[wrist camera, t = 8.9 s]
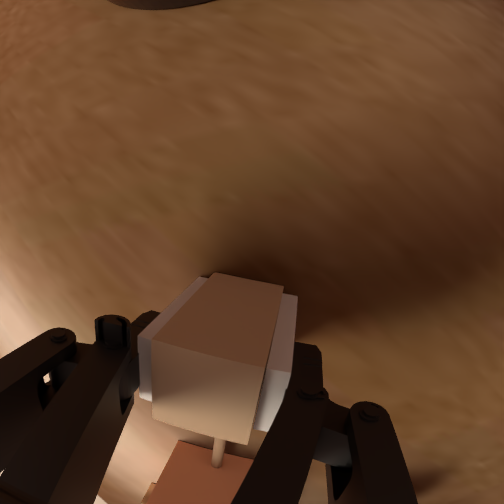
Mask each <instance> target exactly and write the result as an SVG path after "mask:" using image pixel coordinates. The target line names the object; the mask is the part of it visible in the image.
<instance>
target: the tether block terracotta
mask: <svg viewBox="0 0 504 504" xmlns="http://www.w3.org/2000/svg"><path fill="white" fill-rule="evenodd" d="M283 288H284V286H280V285H275V284H270V283H265V282H260V281H255V280H250V279H245V278H241V277H236V276H231V275H226V274H221V273H216V272H214V273H213V274H212V275H211V276H210V277H209V278H208V280H207V281H206V282H205V283H204V284H203V285H202V286H201V287H200V288H199V289H198V290H197V291H196V292H195V293H194V294H193V295H192V296H191V298H190V299H189V300H188V301H187V302H186V303H185V304H184V305H183V306H182V307H181V308H180V309H179V310H178V311H177V312H176V313H175V315H174V316H173V317H172V318H171V319H170V320H169V321H168V322H167V323H166V324H165V325H164V326H163V327H162V328H161V329H160V331H159V332H158V333H157V334H156V335H155V336H154V337H153V338H152V340H151V385H152V419H155V420H158V421H161V422H164V423H167V424H170V425H173V426H177V427H180V428H183V429H186V430H190V431H193V432H197V433H200V434H204V435H208V436H211V437H215V439H214V446H213V450H210V449H207V448H203V447H199V446H196V445H192V444H189V443H186V442H182V441H179V440H178V442H177V444H176V446H175V448H174V450H173V452H172V454H171V456H170V458H169V460H168V462H167V464H166V466H165V468H164V470H163V472H162V474H161V476H160V477H159V479H158V481H157V483H156V485H155V487H154V489H153V491H152V493H151V495H150V497H149V499H148V501H147V502H146V504H231V502H232V500H233V498H234V497H235V495H236V493H237V491H238V489H239V487H240V486H241V484H242V482H243V480H244V478H245V476H246V474H247V472H248V471H249V469H250V467H251V465H252V463H253V461H254V460H253V459H248V458H243V457H239V456H234V455H230V454H226V453H224V450H225V444H226V440H227V441H231V442H236V443H240V444H244V445H247V444H248V440H249V437H250V433H251V429H252V425H253V421H254V417H255V413H256V409H257V405H258V401H259V397H260V393H261V389H262V385H263V380H264V376H265V372H266V368H267V364H268V359H269V355H270V350H271V346H272V341H273V336H274V332H275V327H276V322H277V318H278V313H279V308H280V303H281V298H282V293H283Z"/></svg>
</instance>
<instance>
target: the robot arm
mask: <svg viewBox="0 0 504 504" xmlns="http://www.w3.org/2000/svg"><path fill="white" fill-rule="evenodd" d="M108 1H109V2H111V3H114V4H116V5H119V6H122V7H127V8H132V9H143V10H158V9H170V8H178V7H184V6H189V5H195V4H199V3H203V2H207V1H211V0H108ZM207 280H208V278H204V277H200V276H199V277H198V278H197V279H196V280H195V281H194V282H193V283H192V284H191V285H190V286H189V287H187V288H186V289H185V290H184V291H183V292H182V293H181V294H180V295H179V296H178V297H177V298H176V299H175V300H174V301H173V302H172V303H171V304H170V305H169V306H168V307H167V308H166V309H165V310H164V311H163V312H161V313H159V312H156V311H152V310H151V311H149V312H146V313H143V314H141V315H140V316H139V317H138V318H137V319H136V320H135V321H133V322H132V323H130V321H129V320H128V319H126V318H125V317H122V316H119V315H104V316H100V317H98V318H97V319H95V333H96V341H95V342H94V344H85V343H78V342H76V335H75V333H74V332H73V331H71V330H69V329H66V328H53V329H50V330H48V331H46V332H44V333H42V334H41V335H39V336H37V337H36V338H34V339H32V340H31V341H29V342H27V343H26V344H24V345H22V346H21V347H19V348H17V349H16V350H14V351H12V352H11V353H9V354H7V355H6V356H4V357H3V358H1V359H0V472H2V471H3V470H4V471H3V473H2V474H1V476H0V504H93V503H94V501H95V499H96V496H97V493H98V491H99V488H100V485H101V483H102V480H103V478H104V475H105V472H106V470H107V467H108V465H109V462H110V460H111V457H112V455H113V452H114V450H115V447H116V445H117V442H118V440H119V438H120V435H121V433H122V430H123V428H124V425H125V423H126V421H127V418H128V416H129V414H130V411H131V409H132V406H133V404H134V392H135V391H136V390H137V388H138V387H139V393H140V398H143V399H146V400H148V401H151V402H152V385H151V340H152V338H153V337H154V336H155V335H156V334H157V333H158V332H159V331H160V329H161V328H162V327H163V326H164V325H165V324H166V323H167V322H168V321H169V320H170V319H171V318H172V317H173V316H174V315H175V313H176V312H177V311H178V310H179V309H180V308H181V307H182V306H183V305H184V304H185V303H186V302H187V301H188V300H189V299H190V298H191V296H192V295H193V294H194V293H195V292H196V291H197V290H198V289H199V288H200V287H201V286H202V285H203V284H204V283H205V282H206V281H207ZM297 302H298V296H294V295H289V294H284V293H282V298H281V303H280V308H279V313H278V318H277V322H276V327H275V332H274V336H273V341H272V346H271V350H270V355H269V359H268V364H267V368H266V373H265V378H264V382H263V387H262V391H261V396H260V400H259V405H258V409H257V413H256V418H255V422H254V427H253V429H256V430H261V431H267V432H268V433H267V435H266V437H265V439H264V441H263V443H262V445H261V447H260V449H259V451H258V453H257V455H256V457H255V459H254V461H253V463H252V465H251V467H250V469H249V471H248V472H247V474H246V476H245V478H244V480H243V482H242V484H241V486H240V487H239V489H238V491H237V493H236V495H235V497H234V498H233V500H232V502H231V504H298V502H299V499H300V497H301V494H302V491H303V487H304V484H305V481H306V478H307V475H308V472H309V469H310V465H311V462H312V459H315V460H318V461H321V462H323V463H326V465H325V466H326V478H327V491H328V504H418V502H417V499H416V495H415V492H414V489H413V485H412V482H411V479H410V476H409V472H408V469H407V466H406V463H405V460H404V457H403V454H402V451H401V448H400V445H399V442H398V439H397V436H396V433H395V430H394V427H393V424H392V421H391V419H390V416H389V414H388V412H387V411H386V410H385V409H384V408H383V407H382V406H380V405H378V404H376V403H373V402H367V401H363V402H358V403H355V404H353V406H352V407H351V408H350V409H349V408H346V407H343V406H340V405H338V404H336V403H334V402H332V401H331V400H330V399H329V395H328V392H327V391H326V389H325V388H323V374H322V355H321V352H320V350H319V349H318V347H317V346H316V345H310V344H305V343H299V342H294V338H295V327H296V315H297ZM48 373H49V377H50V381H49V382H47V383H45V382H44V379H43V377H44V376H45V375H46V374H48Z"/></svg>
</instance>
